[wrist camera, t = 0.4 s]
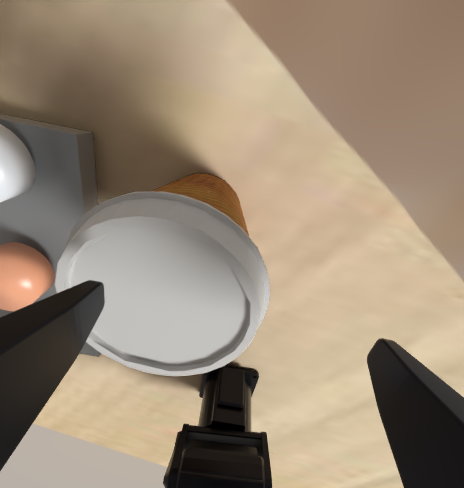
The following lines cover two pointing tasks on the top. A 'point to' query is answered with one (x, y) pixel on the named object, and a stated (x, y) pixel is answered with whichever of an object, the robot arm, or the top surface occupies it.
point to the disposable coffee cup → (170, 276)
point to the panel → (50, 192)
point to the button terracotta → (22, 275)
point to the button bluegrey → (14, 166)
